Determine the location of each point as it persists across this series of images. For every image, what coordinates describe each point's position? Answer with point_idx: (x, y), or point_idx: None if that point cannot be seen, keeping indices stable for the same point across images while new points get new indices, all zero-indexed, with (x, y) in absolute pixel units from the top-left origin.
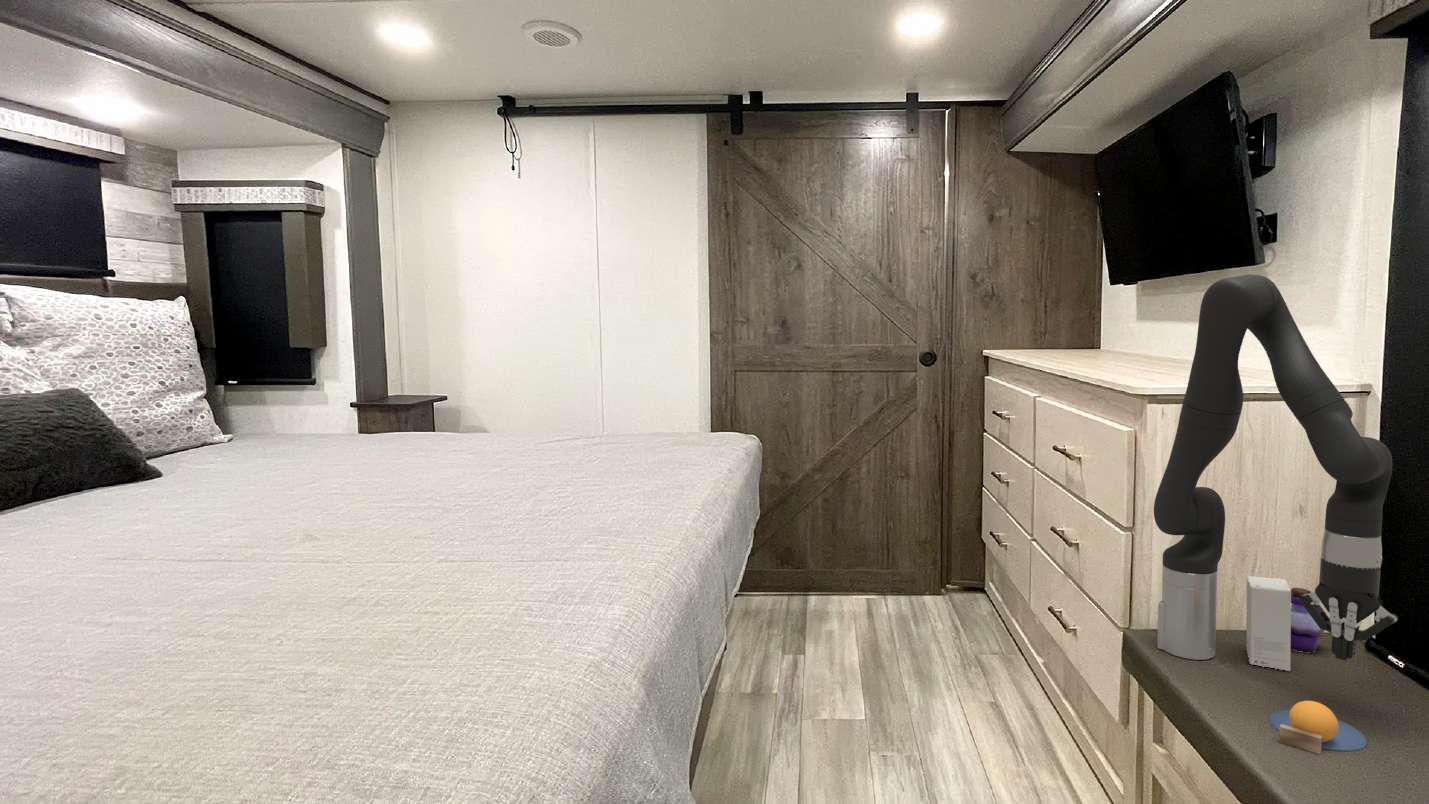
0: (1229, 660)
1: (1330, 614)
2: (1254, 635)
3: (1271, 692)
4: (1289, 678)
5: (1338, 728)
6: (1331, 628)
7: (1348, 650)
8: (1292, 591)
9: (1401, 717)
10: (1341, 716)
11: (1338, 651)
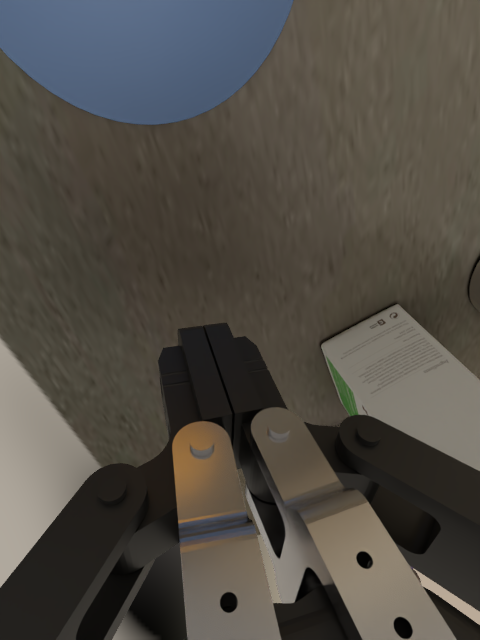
0: (438, 290)
1: (402, 566)
2: (451, 364)
3: (336, 178)
4: (314, 311)
5: (86, 27)
6: (319, 448)
7: (184, 379)
8: (416, 576)
9: (36, 324)
10: (137, 179)
11: (224, 348)
